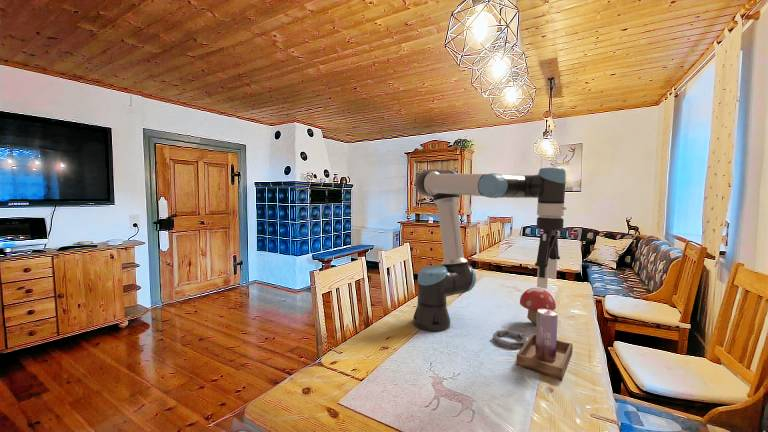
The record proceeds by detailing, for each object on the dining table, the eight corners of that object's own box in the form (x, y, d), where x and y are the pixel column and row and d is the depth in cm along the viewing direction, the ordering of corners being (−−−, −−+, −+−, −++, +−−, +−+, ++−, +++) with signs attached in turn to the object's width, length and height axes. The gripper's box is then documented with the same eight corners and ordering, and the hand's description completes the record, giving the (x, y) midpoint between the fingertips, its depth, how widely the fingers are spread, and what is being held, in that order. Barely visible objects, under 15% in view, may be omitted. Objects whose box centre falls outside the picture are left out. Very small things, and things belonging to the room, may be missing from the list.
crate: (516, 365, 99) (516, 354, 99) (531, 342, 114) (532, 333, 114) (562, 380, 91) (562, 368, 91) (572, 353, 107) (572, 343, 106)
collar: (490, 342, 114) (490, 337, 114) (499, 332, 123) (499, 328, 123) (520, 351, 108) (520, 346, 108) (528, 340, 116) (528, 335, 116)
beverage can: (556, 355, 104) (558, 310, 103) (555, 363, 99) (557, 316, 98) (536, 350, 107) (537, 307, 106) (534, 358, 102) (535, 312, 101)
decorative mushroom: (523, 329, 126) (524, 292, 125) (515, 316, 139) (516, 283, 138) (560, 332, 123) (561, 294, 122) (548, 319, 136) (550, 284, 135)
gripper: (555, 220, 88) (551, 294, 90) (570, 215, 108) (567, 276, 109) (526, 218, 93) (523, 289, 95) (546, 214, 113) (543, 273, 114)
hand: (547, 282), depth 102 cm, fingers open, 13 cm apart
